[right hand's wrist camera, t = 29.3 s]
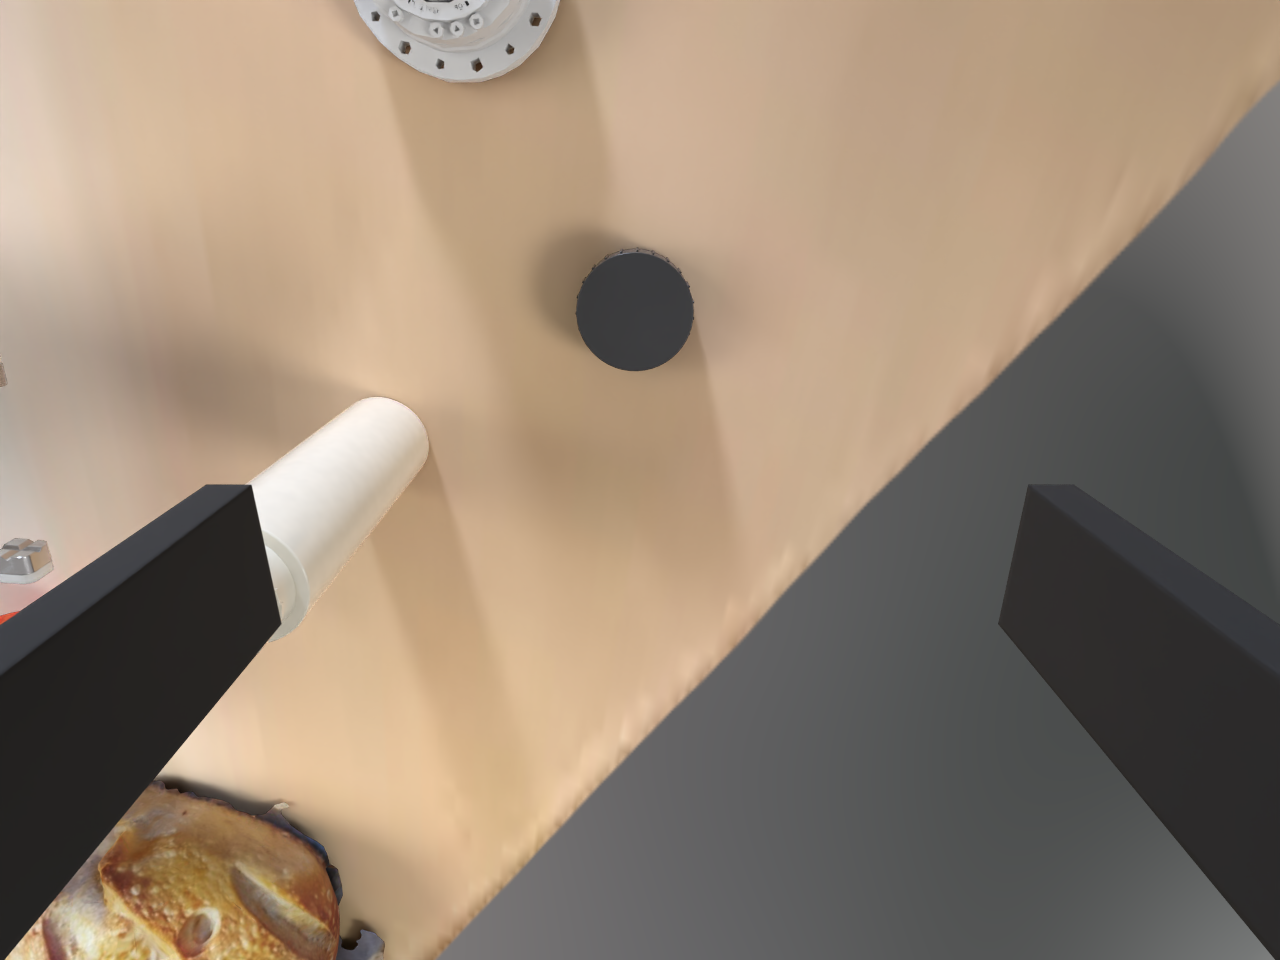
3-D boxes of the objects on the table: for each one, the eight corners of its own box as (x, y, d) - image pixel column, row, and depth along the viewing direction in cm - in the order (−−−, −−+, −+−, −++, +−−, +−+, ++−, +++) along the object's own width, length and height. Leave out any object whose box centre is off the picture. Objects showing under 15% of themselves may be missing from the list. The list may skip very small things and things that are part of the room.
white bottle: (400, 382, 41) (225, 523, 24) (445, 464, 43) (313, 650, 26) (319, 417, 42) (91, 578, 25) (366, 496, 44) (186, 698, 26)
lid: (599, 376, 41) (596, 386, 39) (562, 267, 39) (558, 272, 37) (704, 344, 41) (708, 353, 38) (673, 231, 38) (675, 234, 36)
